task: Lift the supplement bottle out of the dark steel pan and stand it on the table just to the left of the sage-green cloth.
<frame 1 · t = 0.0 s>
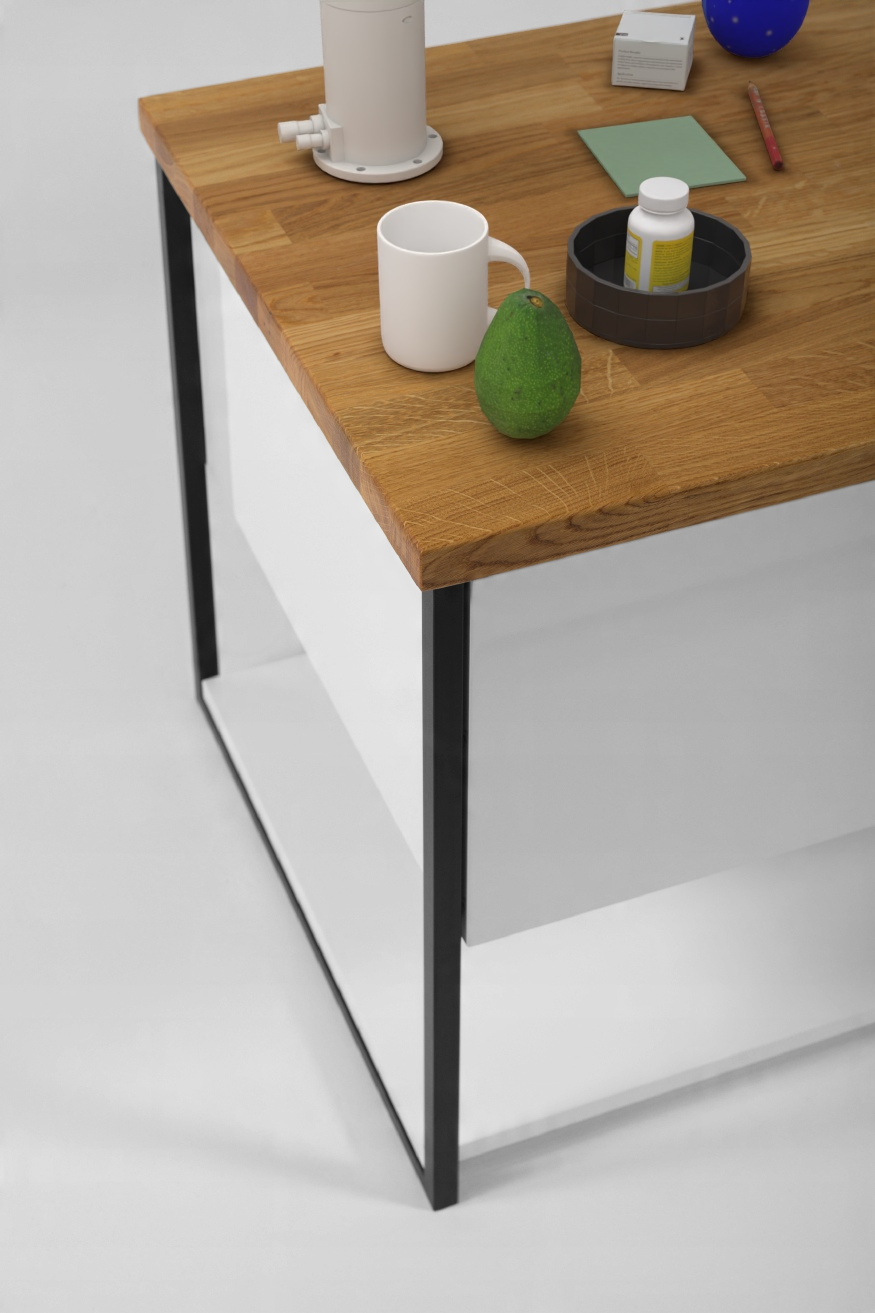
supplement bottle: (654, 297, 137), resting on pan
ornament: (750, 54, 175), on the table
cloth: (659, 156, 157), on the table
small box: (651, 75, 171), on the table
avocado: (526, 432, 124), on the table
pencil: (762, 127, 161), on the table
pan: (654, 301, 137), on the table
mug: (455, 347, 133), on the table
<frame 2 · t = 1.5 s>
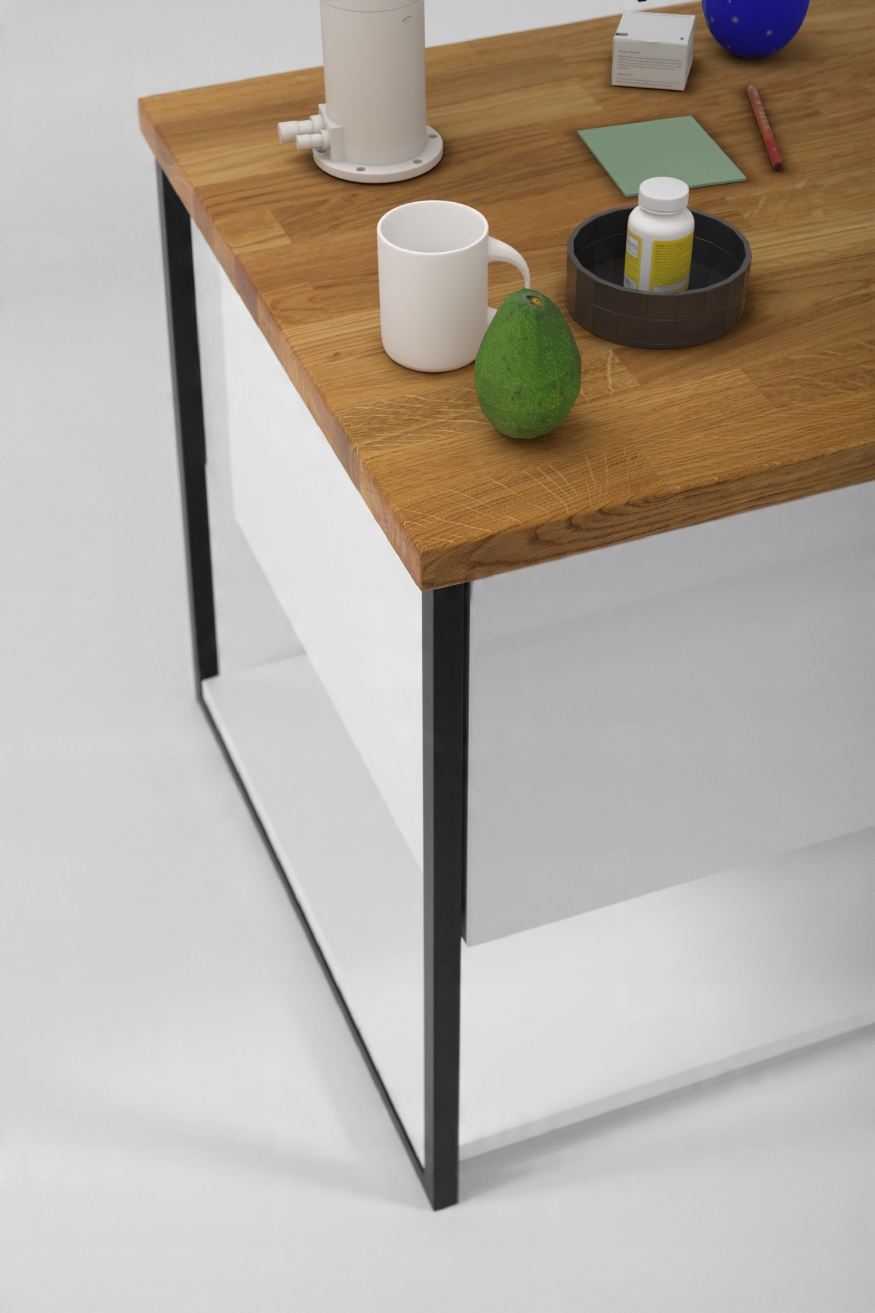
nothing on the table moved.
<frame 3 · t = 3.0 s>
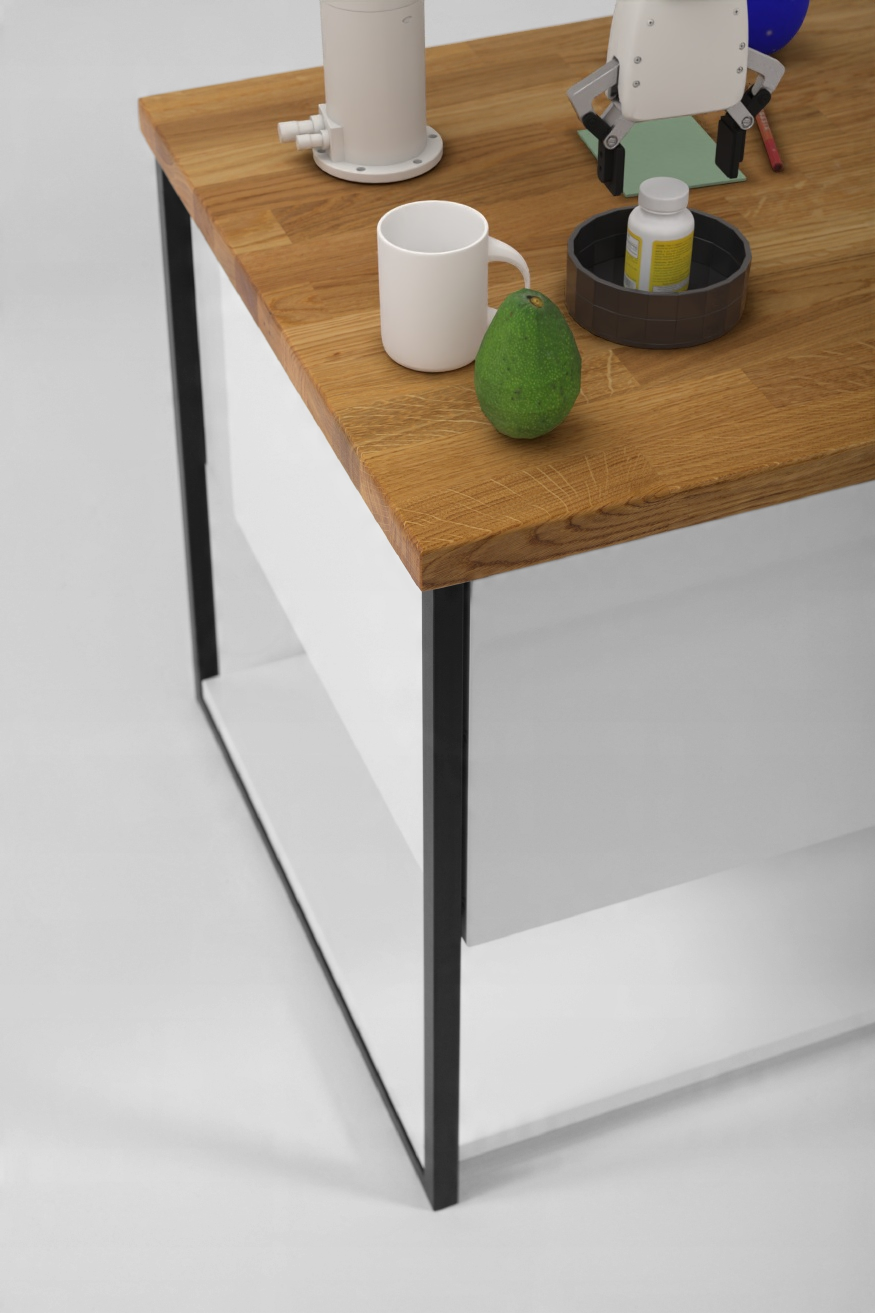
hand: (669, 180, 130), 11 cm above the table, tool pointing down, fingers open, 9 cm apart
nothing on the table moved.
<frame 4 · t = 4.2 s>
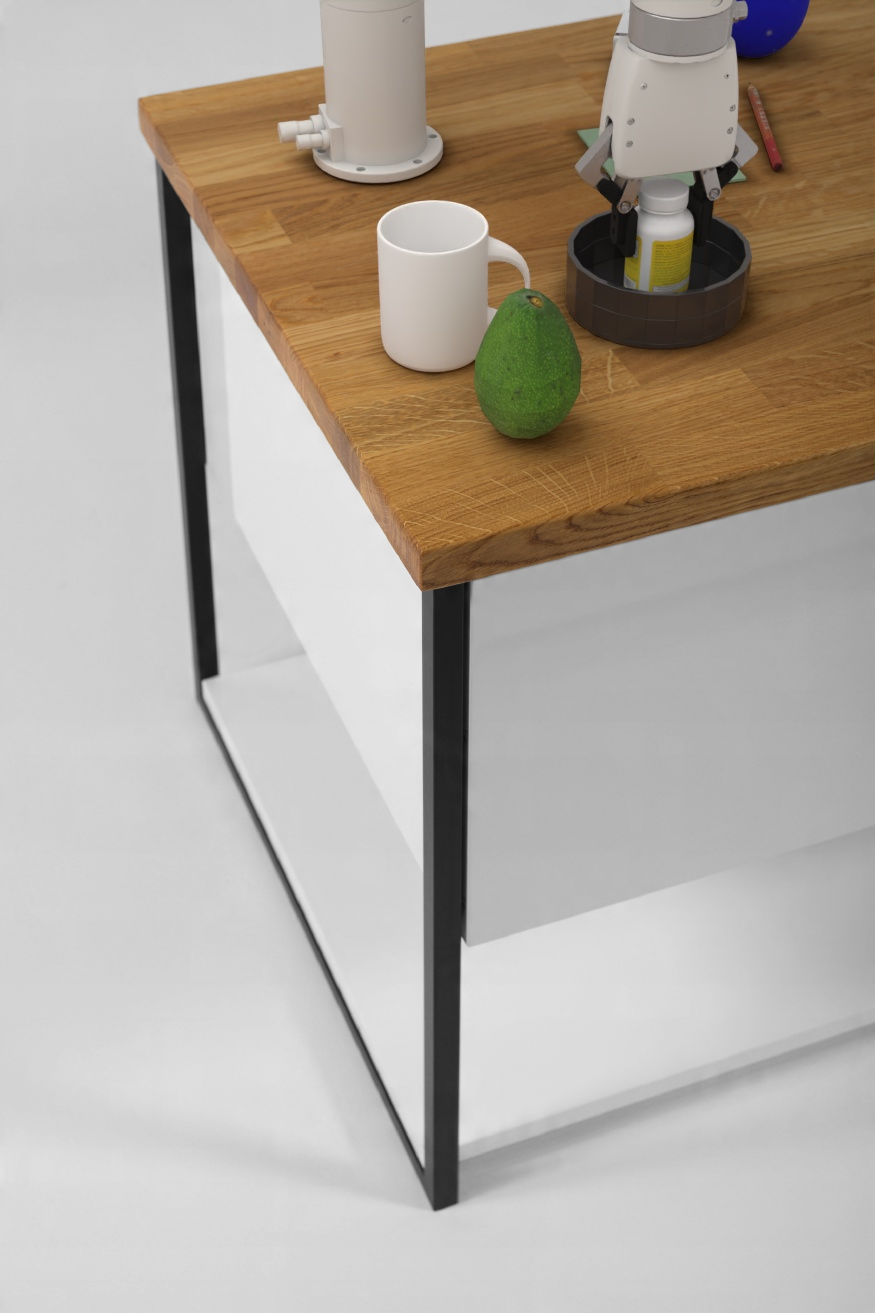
hand: (659, 242, 134), 5 cm above the table, tool pointing down, fingers closed on supplement bottle, 5 cm apart
supplement bottle: (654, 297, 137), resting on pan, touching gripper
everything else where it was.
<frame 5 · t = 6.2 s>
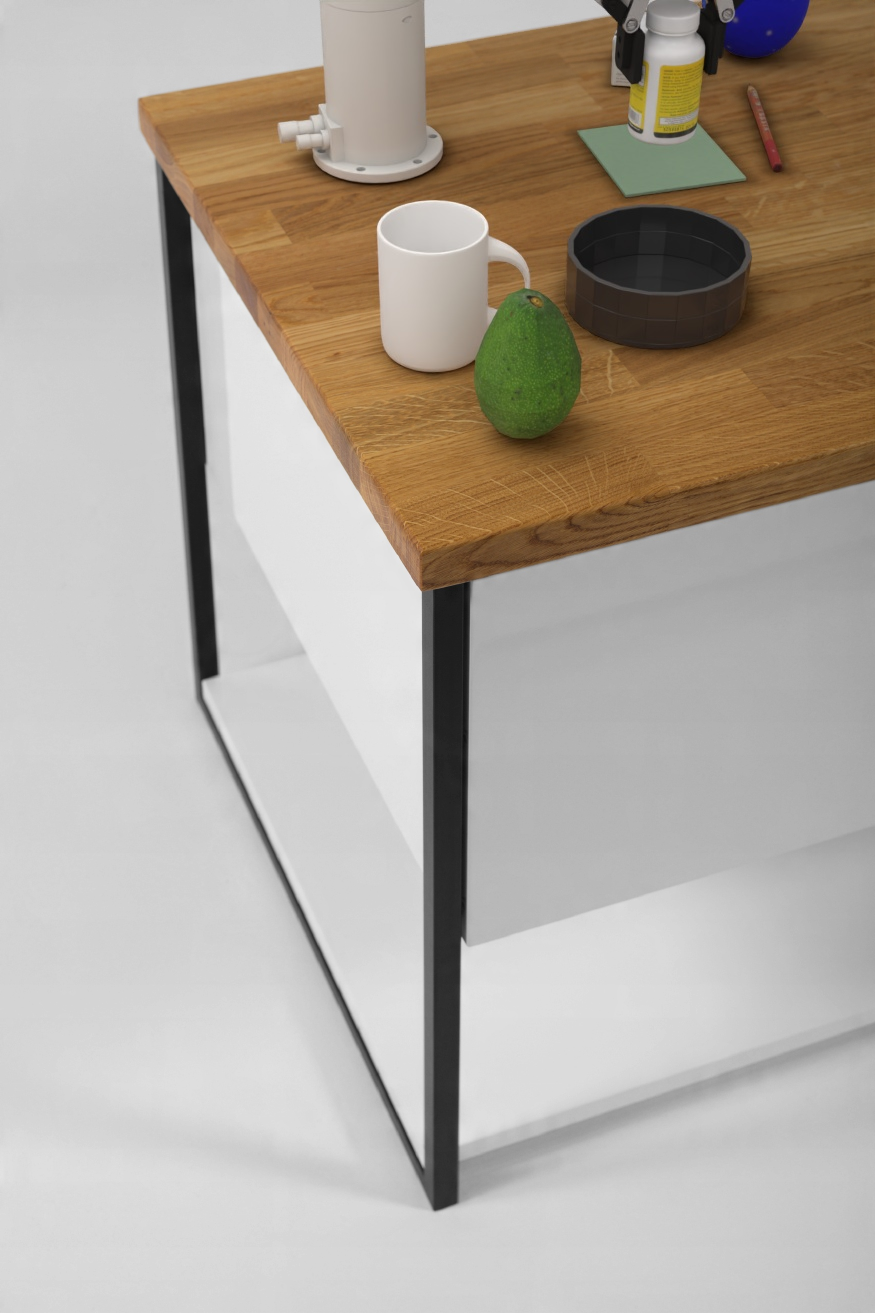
hand: (667, 69, 125), 20 cm above the table, tool pointing down, fingers closed on supplement bottle, 5 cm apart
supplement bottle: (660, 134, 128), point 14 cm above the table, touching gripper
everything else where it was.
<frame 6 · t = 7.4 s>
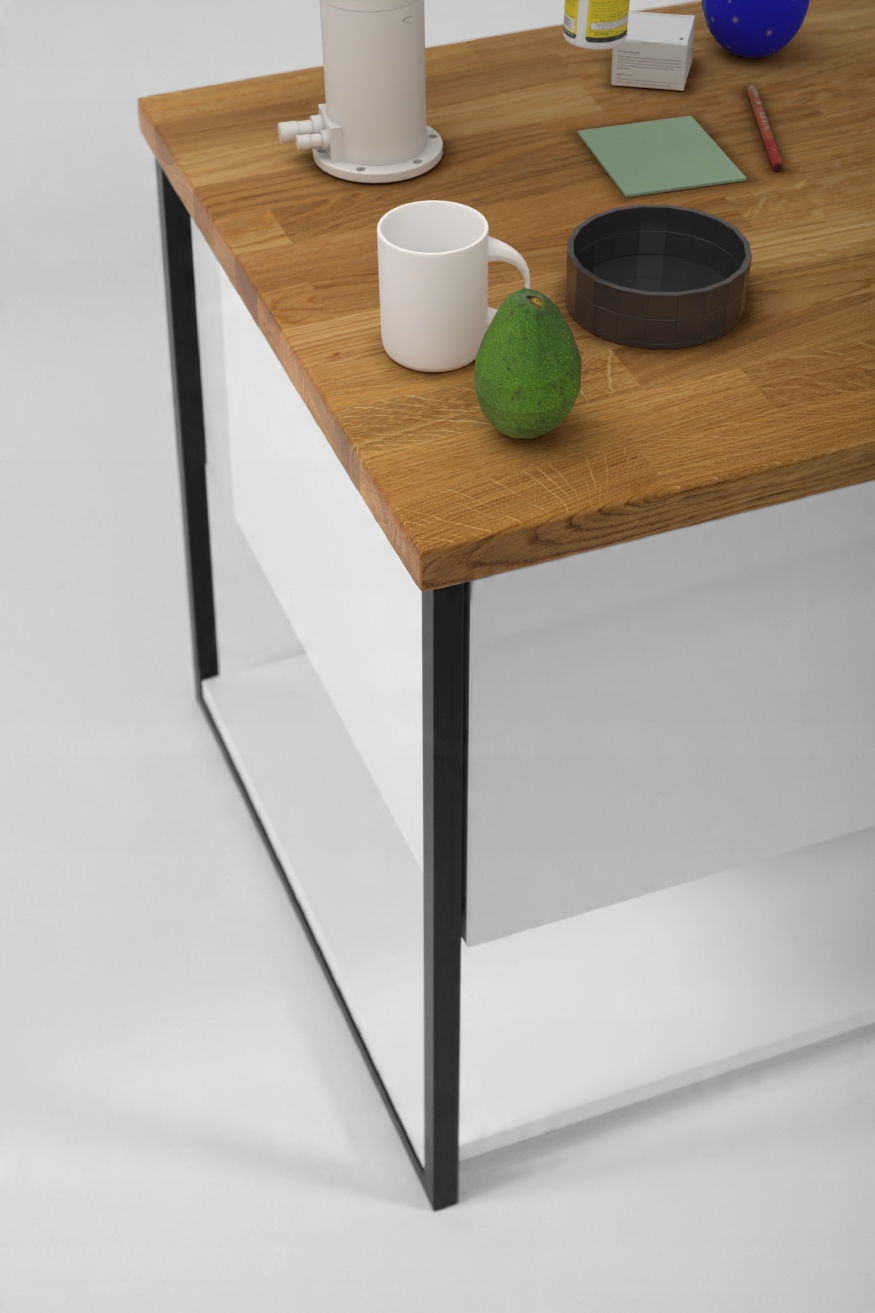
supplement bottle: (594, 40, 138), point 16 cm above the table, touching gripper
everything else where it was.
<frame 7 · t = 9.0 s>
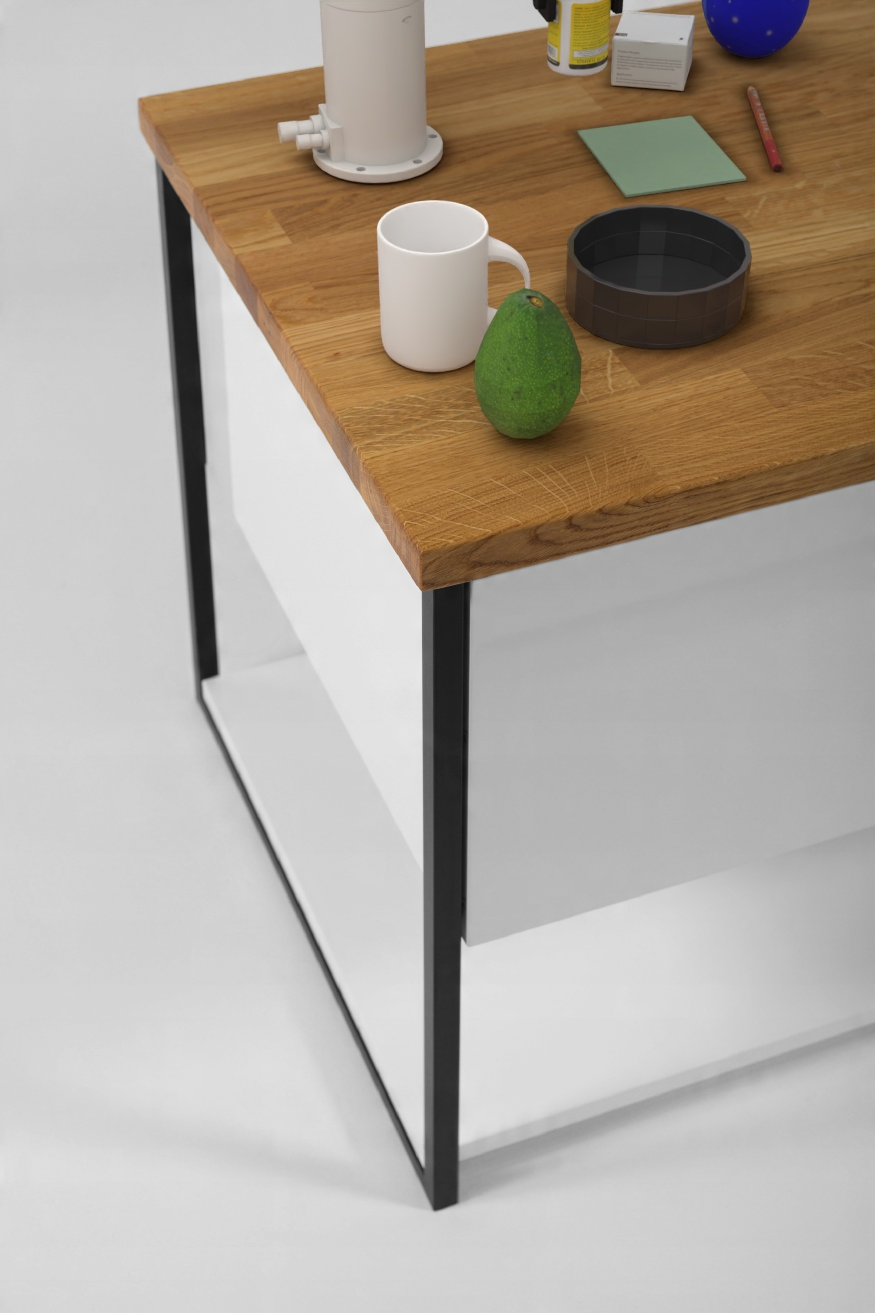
hand: (579, 10, 142), 16 cm above the table, tool pointing down, fingers closed on supplement bottle, 5 cm apart
supplement bottle: (576, 67, 145), point 11 cm above the table, touching gripper
everything else where it was.
when the fingers open (5 cm above the table, at t = 12.0 s): supplement bottle stays where it is, on the table.
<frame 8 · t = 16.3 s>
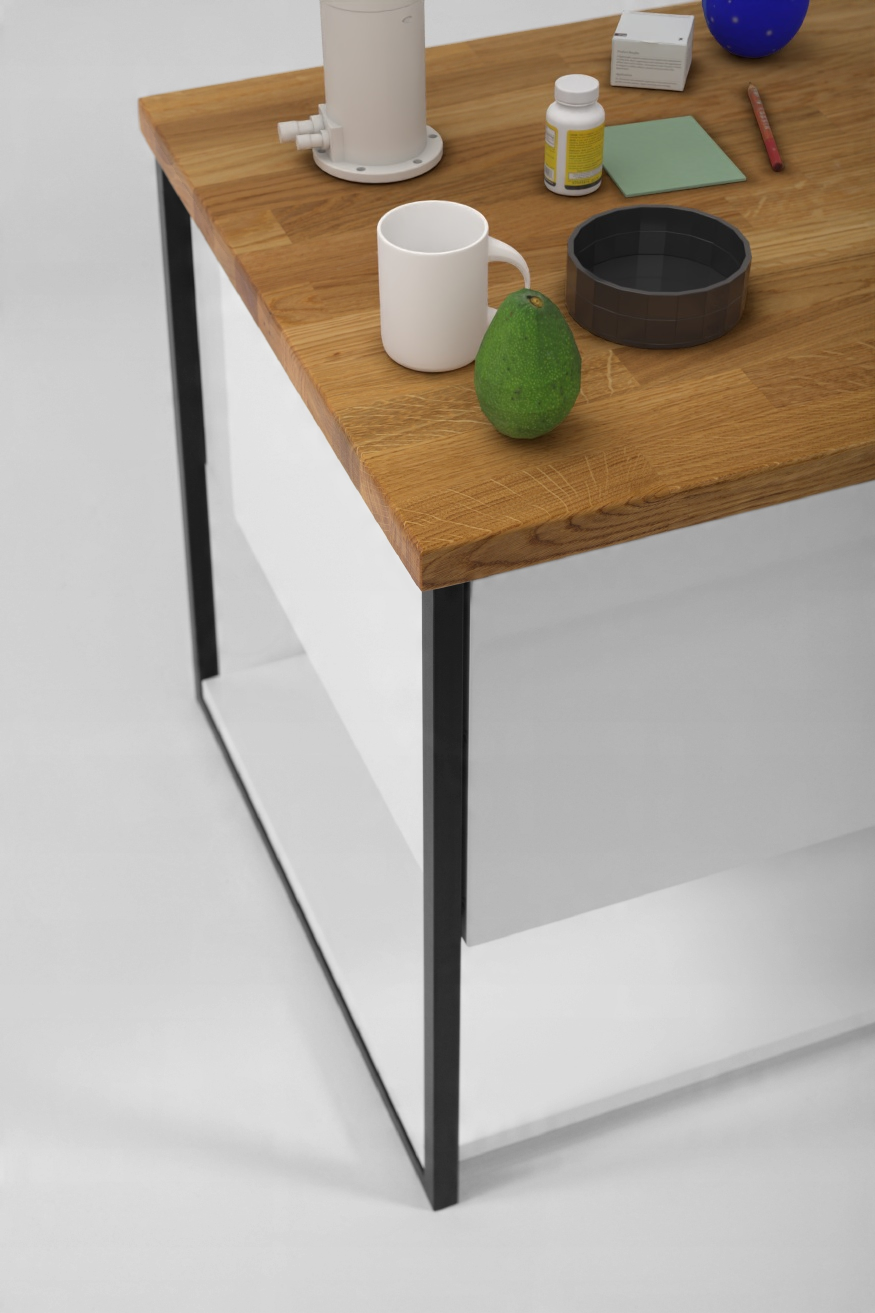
supplement bottle: (572, 186, 153), on the table
everything else where it was.
at the end: supplement bottle inside the target area on the table beside the cloth (2.2 cm from its centre), on the table; supplement bottle tilted 0° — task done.
